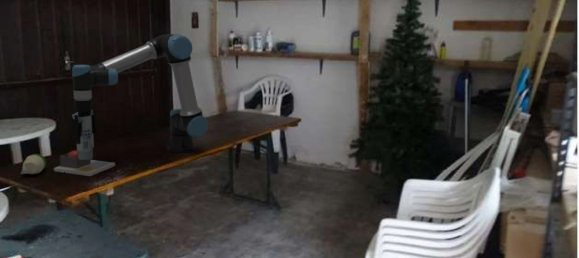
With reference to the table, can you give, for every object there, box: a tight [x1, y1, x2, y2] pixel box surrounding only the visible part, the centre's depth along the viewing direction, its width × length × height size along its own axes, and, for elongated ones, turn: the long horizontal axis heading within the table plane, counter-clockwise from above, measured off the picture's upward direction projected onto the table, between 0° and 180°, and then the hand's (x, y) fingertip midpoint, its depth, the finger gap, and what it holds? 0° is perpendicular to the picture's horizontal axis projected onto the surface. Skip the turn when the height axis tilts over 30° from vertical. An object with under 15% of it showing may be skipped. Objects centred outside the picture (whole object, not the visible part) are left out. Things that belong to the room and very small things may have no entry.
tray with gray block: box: [53, 152, 116, 177], centre depth 234 cm, size 20×18×6 cm
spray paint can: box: [77, 115, 94, 160], centre depth 226 cm, size 6×6×20 cm
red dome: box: [67, 150, 79, 158], centre depth 234 cm, size 7×7×7 cm
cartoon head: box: [20, 153, 47, 175], centre depth 225 cm, size 9×10×20 cm
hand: (85, 148), depth 227 cm, fingers closed on spray paint can, 6 cm apart
